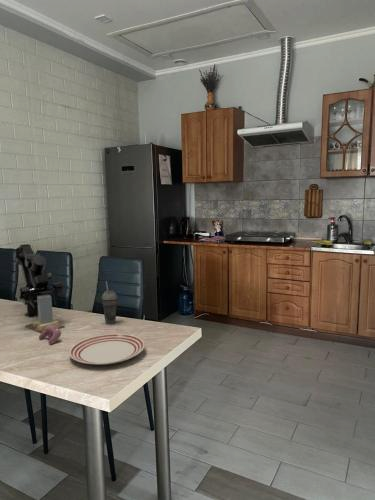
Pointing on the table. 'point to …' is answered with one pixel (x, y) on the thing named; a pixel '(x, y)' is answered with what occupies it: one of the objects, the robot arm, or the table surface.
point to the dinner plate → (107, 349)
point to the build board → (43, 326)
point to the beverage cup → (109, 306)
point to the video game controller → (51, 334)
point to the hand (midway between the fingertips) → (45, 305)
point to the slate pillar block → (45, 309)
